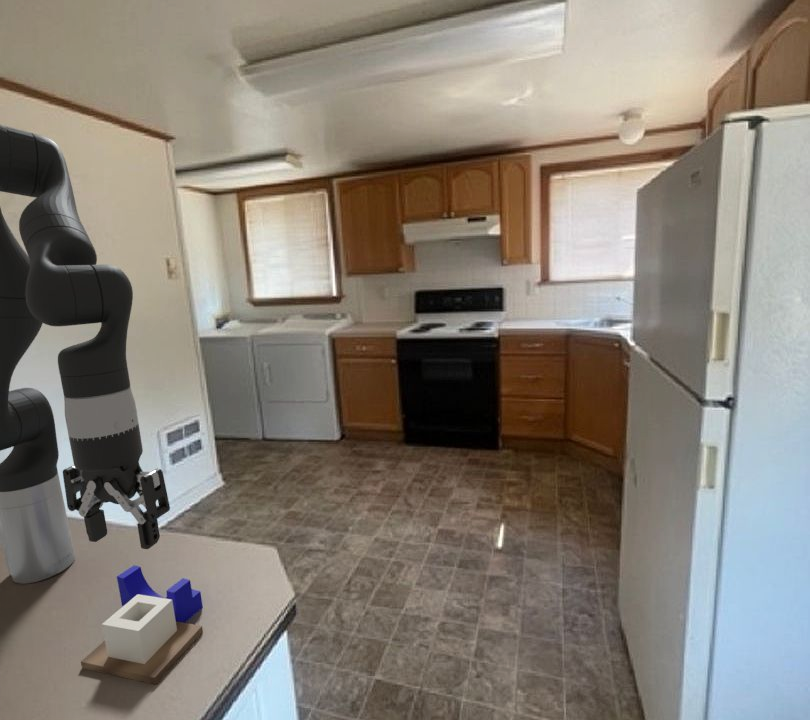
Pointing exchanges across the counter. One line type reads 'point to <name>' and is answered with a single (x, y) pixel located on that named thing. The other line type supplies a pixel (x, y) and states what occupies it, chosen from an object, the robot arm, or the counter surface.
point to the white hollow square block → (139, 628)
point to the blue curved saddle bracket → (180, 593)
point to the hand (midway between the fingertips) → (124, 542)
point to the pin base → (154, 666)
